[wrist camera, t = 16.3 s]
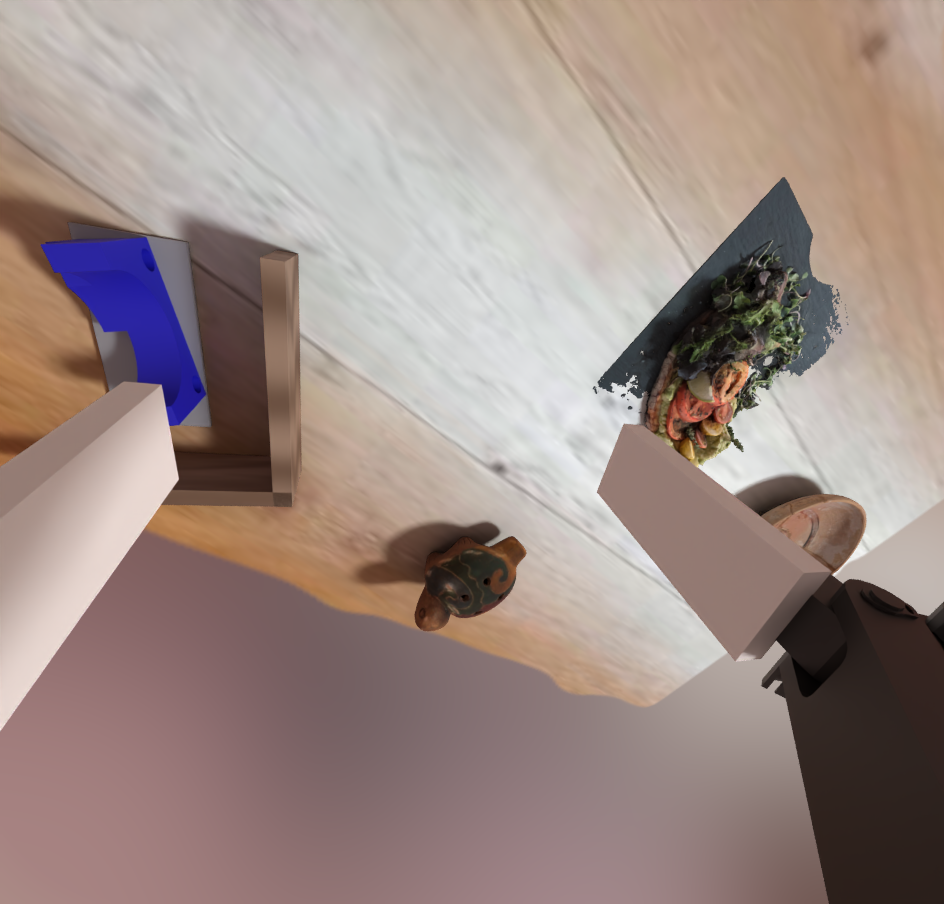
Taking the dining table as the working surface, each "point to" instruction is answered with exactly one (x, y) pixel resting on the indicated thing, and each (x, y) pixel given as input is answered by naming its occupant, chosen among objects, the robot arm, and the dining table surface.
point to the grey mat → (182, 295)
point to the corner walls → (280, 472)
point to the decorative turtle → (467, 581)
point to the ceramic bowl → (821, 526)
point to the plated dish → (731, 331)
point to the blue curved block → (133, 311)
